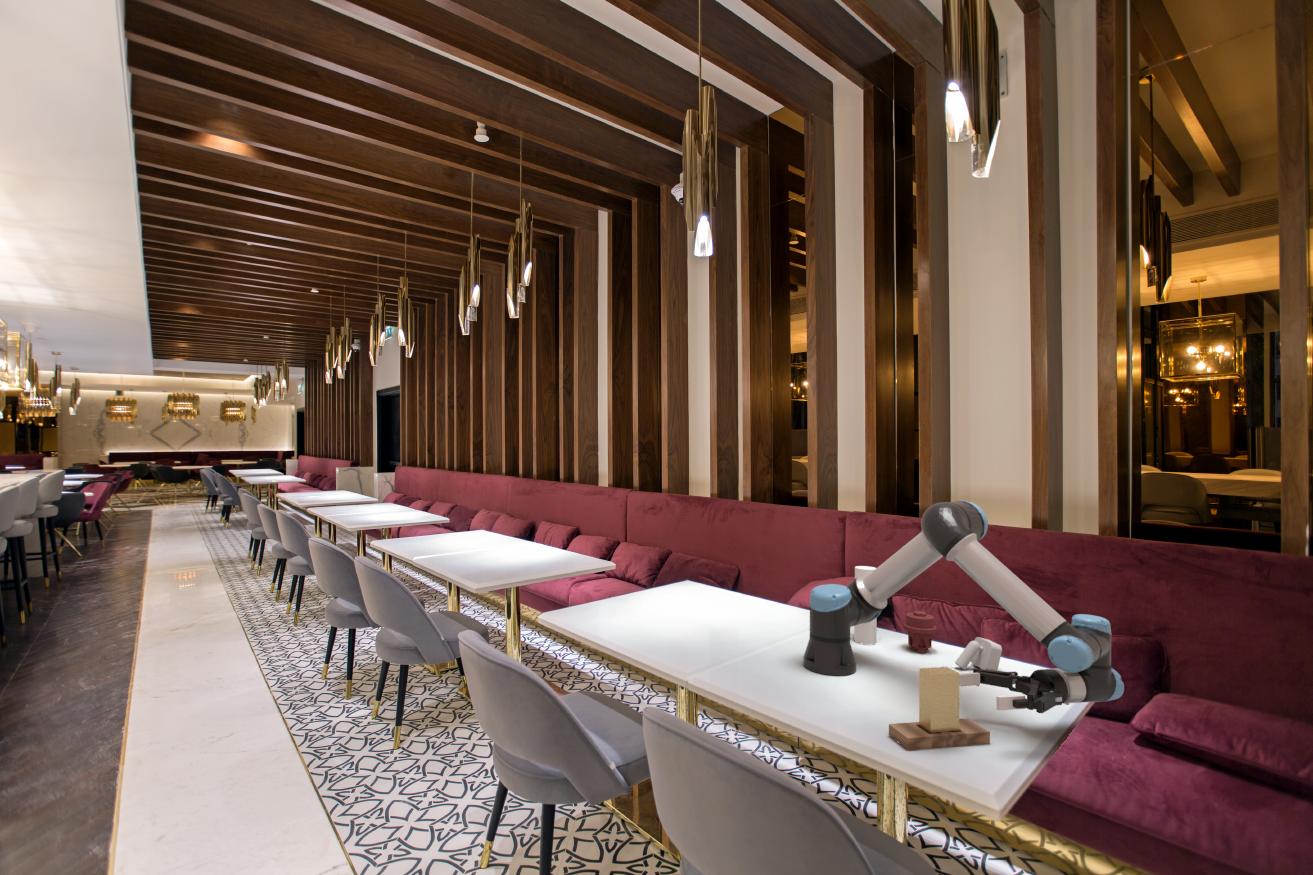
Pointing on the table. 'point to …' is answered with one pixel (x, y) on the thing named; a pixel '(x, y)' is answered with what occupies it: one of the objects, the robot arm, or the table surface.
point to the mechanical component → (919, 630)
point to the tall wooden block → (938, 700)
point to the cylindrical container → (867, 630)
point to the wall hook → (981, 654)
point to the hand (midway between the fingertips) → (974, 690)
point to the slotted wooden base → (938, 735)
